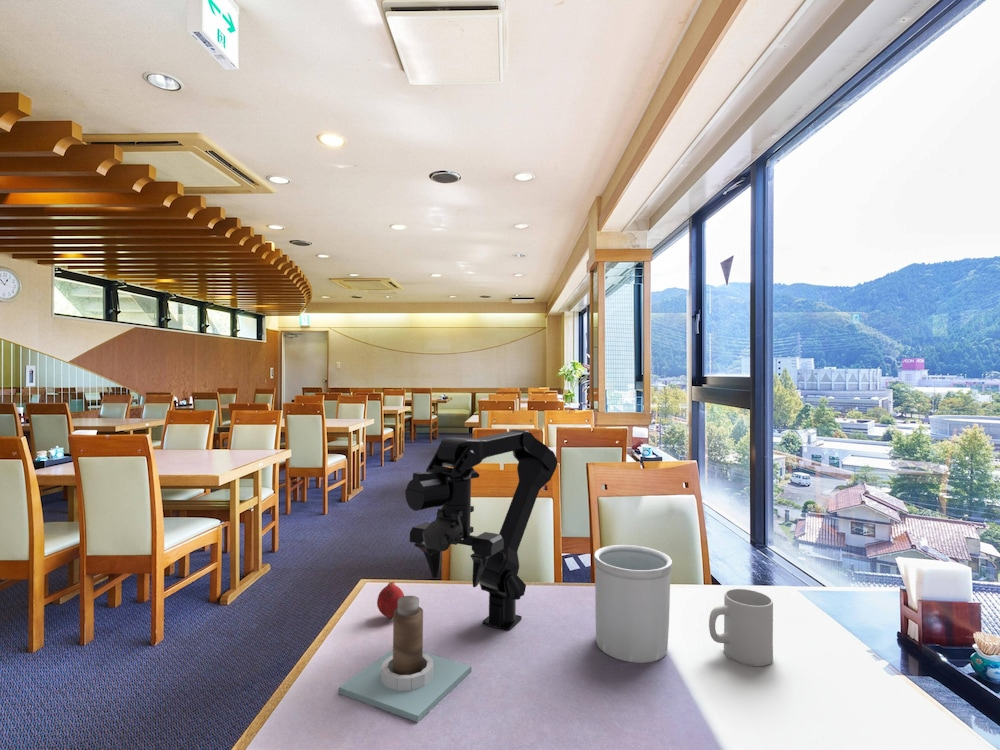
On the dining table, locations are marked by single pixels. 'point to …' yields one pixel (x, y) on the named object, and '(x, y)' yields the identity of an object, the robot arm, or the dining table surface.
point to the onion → (389, 599)
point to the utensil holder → (632, 602)
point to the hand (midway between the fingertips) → (454, 582)
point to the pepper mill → (407, 636)
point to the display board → (405, 698)
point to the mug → (745, 627)
